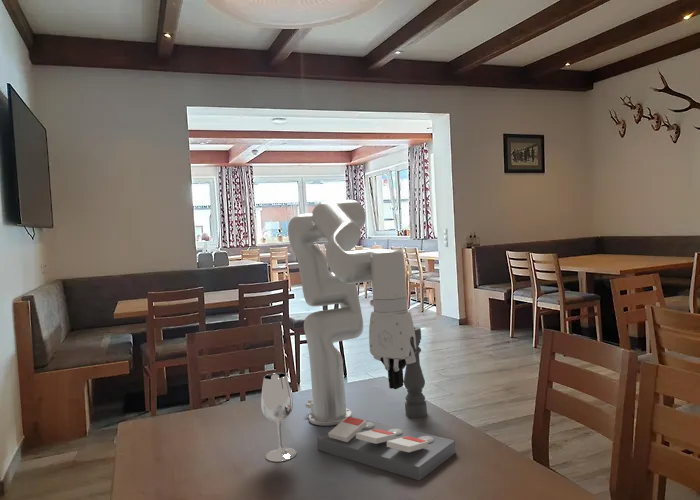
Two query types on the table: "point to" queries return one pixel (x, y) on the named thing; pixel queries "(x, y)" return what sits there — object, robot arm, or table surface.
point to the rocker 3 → (407, 444)
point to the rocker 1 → (347, 429)
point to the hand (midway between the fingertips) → (396, 387)
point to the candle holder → (415, 384)
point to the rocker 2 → (376, 436)
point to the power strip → (392, 451)
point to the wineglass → (277, 410)
